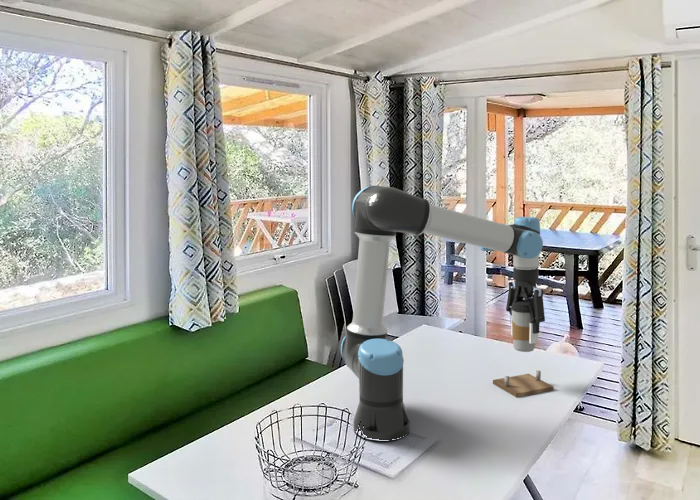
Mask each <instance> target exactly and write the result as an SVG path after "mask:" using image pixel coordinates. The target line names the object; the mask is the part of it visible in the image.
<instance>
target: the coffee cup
mask: <svg viewBox="0 0 700 500" xmlns="http://www.w3.org/2000/svg"><path fill="white" fill-rule="evenodd" d="M510 307H511V306H510ZM511 310H512V332H513V336H512V344H513V349H514V350H515V351H517V352H523V353H530V352H533V351H534V350H535V348H536V343H533V344H530V343H529V331H530V322H531V321H532V320H531V316H530V309H529V305H527V302H526V301H525V299H523V300H522V301H513V304H512V307H511ZM535 319H536V318H535Z"/></svg>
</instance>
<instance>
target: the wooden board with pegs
mask: <svg viewBox="0 0 700 500" xmlns="http://www.w3.org/2000/svg"><path fill="white" fill-rule="evenodd" d="M535 372H536V373H535V376H534V375H532V374H530V373H525V374H519V375H512V376H509V375H505V376H504V377H502V378H496V379H492V384H493V385H495V386H496V387H498V388H499V389H501V390H503V391H504V392H506V393H508V394H509V395H512V396H513V397H515V398H520V397H524V396H526V397H527V396H530V395H535V394H536V395H537V394H541V393H545V392H546V393H547V392H550V391H554V388H555V387H554V385H551V384H549V383H548V382H546V381H544V380H542V379H541V377H542V376H541V375H542V373H541V370H536V371H535Z"/></svg>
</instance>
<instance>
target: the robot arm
mask: <svg viewBox="0 0 700 500" xmlns="http://www.w3.org/2000/svg"><path fill="white" fill-rule="evenodd" d="M351 207H352V208H351V211H352V214H353V217H354V219H355V226H354V234H355V235H356V236H357V238H358V239H359V242H358V255H357V263H356V264H357V265H356V266H357V268H356V277H355V278H356V279H355V290H354V303H353V304H354V305H353V313H352V322H351V323H349V324H348V325H347V326H346V332H345V333H346V334H345V336H344V337H343V339H342V341H341V343H340V344H341V345H340V355H341V358H342V360H343V362H344V364H345V365H346V366H347V368H349V370H350V371H351V372H352V373H353V374H354V376H356V377H357V379H358V383H359V386H358V388H359V393H358V394H359V403H358V406H357V407H356V411H355V414H354V417H353V422H352V423H353V424H352V426H353V428H354V429H353V431H355V432H356V431H357V429H358V425H359V423H360V420H361V423H360V429H359V431H361V430H362V429H363V434H364V435H366V436H367V438H372V439H379V440H392V439H397V438H400V437H403V436H405V435H406V434H407V435H408V434H409V433H410V430H411V428H410V427H411V426H410V425H411V422H410V417H409V415H408V413H407V410H406V406H405V404H404V361H405V360H404V356H403V355H404V354H403V349H402V347H401V346H400V345H399V344H398V343H397V342H395V341H393V340H388V339H387V338H388V329H387V328H386V327H385V325H384V313H385V310H384V309H385V301H386V290H387V289H386V288H387V281H388V280H387V278H388V267H389V266H388V265H389V254H390V245H391V241H392V240H394V238H396V236H397V233H405V234H409V235H410V234H411V235H415V236H420V235H422V234H426V235H432V236H436V237H440V238H443V239H447V240H452V241H455V242H459V243H464V244H468V245H472V246H476V247H478V248H479V249H480V251H482V252H496V251H497V252H500V253H504V254H508V255H511V256H512V258H513V261H512V265H513V269H512V271H513V272H512V279H513V280H514V281H509V282H508V293H507V300H506V306H505V310H506V312H509V315H510V336H512V337H513V332H512V310H511V307H512V304H513V301H522V300H525V301H526V302H527V305H529V309H530V316H531V320H532V321H531V322H530V331H529V343H530V344H533V343H535V344H538V343H539V333H540V323H543V322H544V323H545V322H546V317H545V306H544V297H543V296H544V289H543V288H538V286H537V281H539V280H540V279H539V274H540V273H539V271H540V269H539V268H538V267H540V266H539V264H540V254H541V252H542V251H543V247H544V241H543V238H542V237H541V224H540V222H541V221H540V219H539V218H537V217H534V216H516V217H514V221H513V223H512V224H504V223H501V222H500V223H499V222H496V221H493V220H489V219H486V218H485V219H484V218H481V217H478V216H474V215H471V214H466V213H463V212H459V211H455V210H452V209H448V208H444V207H440V206H438V205H433V204H431V203H430V201H429V200H428V199H426V198H421V197H418V196H417V195H413V194H410V193H408V192H406V191H403V190H401V189H398V188H396V187H391V186H381V185H371V186H367V187H364V188H362V189H360V191H359V192H357V193H356V195H355V196H354V198H353V201H352V205H351ZM535 318H536V319H535ZM363 425H364V428H363ZM355 432H354V433H355ZM408 432H409V433H408ZM407 435H406V436H407ZM406 436H405V437H406ZM403 438H404V437H403Z"/></svg>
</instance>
